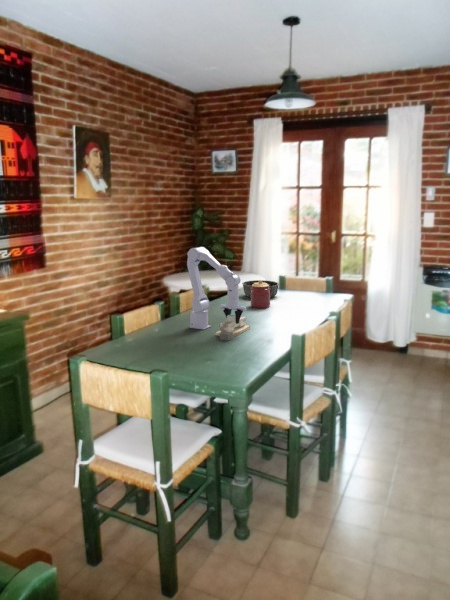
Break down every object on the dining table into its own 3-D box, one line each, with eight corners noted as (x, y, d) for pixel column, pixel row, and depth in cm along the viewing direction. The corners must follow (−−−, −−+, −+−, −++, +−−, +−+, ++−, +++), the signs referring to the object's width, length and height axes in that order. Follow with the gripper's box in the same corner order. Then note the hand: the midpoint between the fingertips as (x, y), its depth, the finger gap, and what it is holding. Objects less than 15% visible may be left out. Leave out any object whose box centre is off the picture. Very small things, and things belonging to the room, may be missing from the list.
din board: (215, 335, 256) (215, 323, 254) (234, 326, 273) (233, 315, 271) (232, 337, 251) (232, 325, 250) (250, 328, 268) (250, 317, 267)
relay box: (219, 339, 248) (219, 333, 247) (224, 337, 251) (224, 331, 250) (228, 341, 245) (228, 334, 245) (232, 339, 249) (232, 332, 248)
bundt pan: (285, 295, 359) (285, 281, 357) (268, 301, 337) (268, 287, 335) (253, 292, 372) (253, 279, 370) (235, 298, 351) (235, 284, 349)
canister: (270, 308, 316) (271, 281, 312) (250, 308, 316) (250, 281, 312) (269, 304, 328) (269, 278, 325) (250, 304, 329) (250, 278, 325)
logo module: (227, 326, 260) (227, 315, 259) (231, 324, 264) (231, 313, 263) (234, 327, 258) (234, 316, 256) (238, 325, 262) (238, 314, 261)
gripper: (217, 297, 258) (217, 322, 261) (241, 300, 251) (241, 326, 254) (223, 295, 264) (224, 320, 267) (248, 297, 257) (248, 323, 260)
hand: (233, 322), depth 261 cm, fingers closed on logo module, 4 cm apart
